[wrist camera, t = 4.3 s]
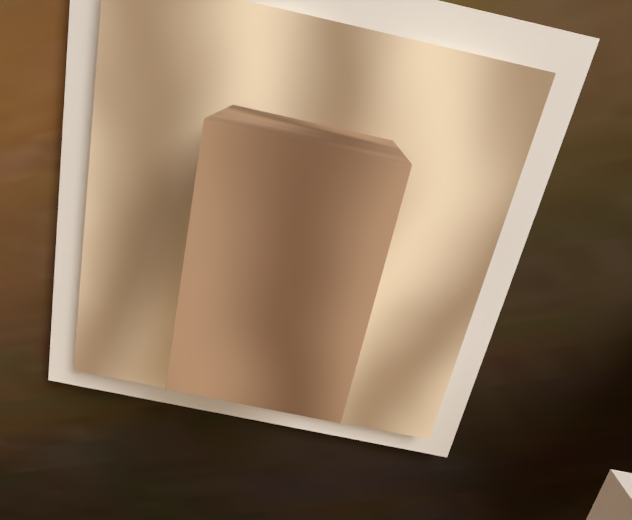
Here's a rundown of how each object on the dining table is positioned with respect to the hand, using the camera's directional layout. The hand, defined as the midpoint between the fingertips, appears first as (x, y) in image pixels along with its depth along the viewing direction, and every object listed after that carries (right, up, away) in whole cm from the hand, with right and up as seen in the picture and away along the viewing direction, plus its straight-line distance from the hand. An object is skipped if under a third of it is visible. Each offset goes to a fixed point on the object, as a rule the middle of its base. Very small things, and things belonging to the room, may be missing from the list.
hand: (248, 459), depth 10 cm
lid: (0, +5, +13) cm, 14 cm away
